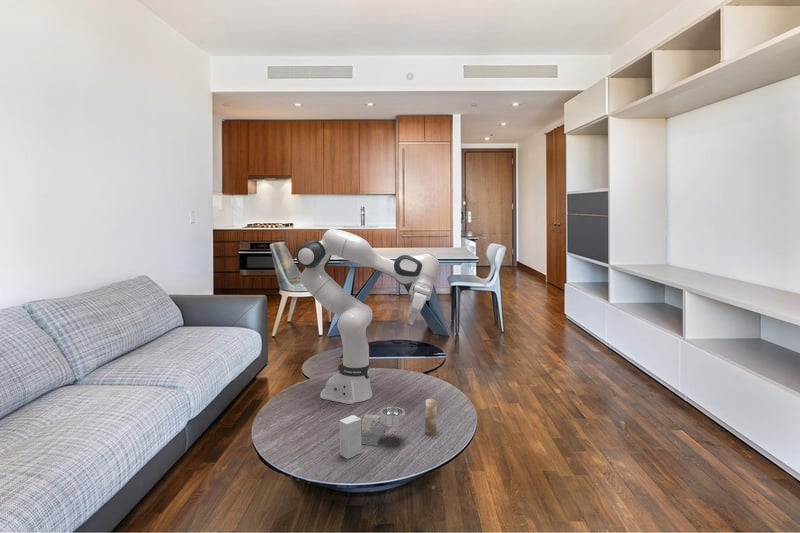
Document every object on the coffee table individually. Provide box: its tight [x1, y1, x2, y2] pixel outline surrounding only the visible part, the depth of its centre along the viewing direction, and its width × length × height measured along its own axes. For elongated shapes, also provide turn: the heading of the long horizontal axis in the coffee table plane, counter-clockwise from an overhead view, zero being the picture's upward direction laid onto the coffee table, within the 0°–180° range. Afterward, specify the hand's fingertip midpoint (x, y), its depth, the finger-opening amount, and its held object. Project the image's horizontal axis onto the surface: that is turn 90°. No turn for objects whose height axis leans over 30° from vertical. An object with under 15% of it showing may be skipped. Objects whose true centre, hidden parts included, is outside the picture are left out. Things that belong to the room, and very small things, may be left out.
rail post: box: [424, 398, 438, 437], centre depth 166 cm, size 4×4×12 cm
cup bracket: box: [361, 405, 406, 447], centre depth 161 cm, size 18×10×10 cm, turn 76°
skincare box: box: [338, 414, 363, 460], centre depth 151 cm, size 6×4×12 cm
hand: (409, 325), depth 183 cm, fingers open, 8 cm apart
